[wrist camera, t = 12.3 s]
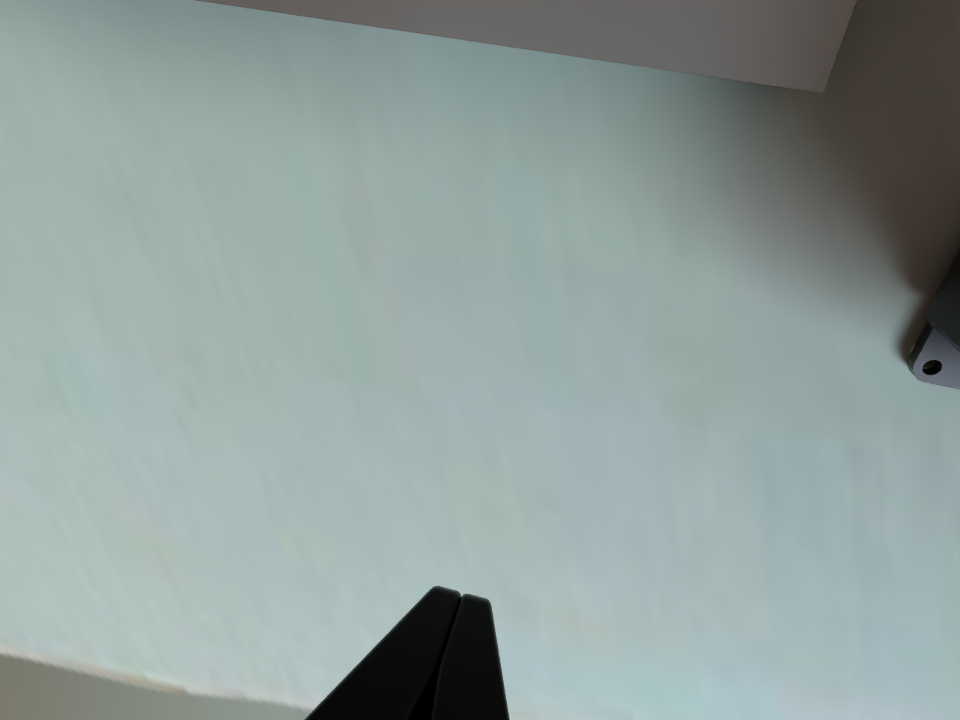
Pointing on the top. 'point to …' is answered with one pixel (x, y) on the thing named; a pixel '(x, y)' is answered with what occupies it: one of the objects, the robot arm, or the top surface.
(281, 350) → the top surface
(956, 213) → the top surface
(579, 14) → the panel
